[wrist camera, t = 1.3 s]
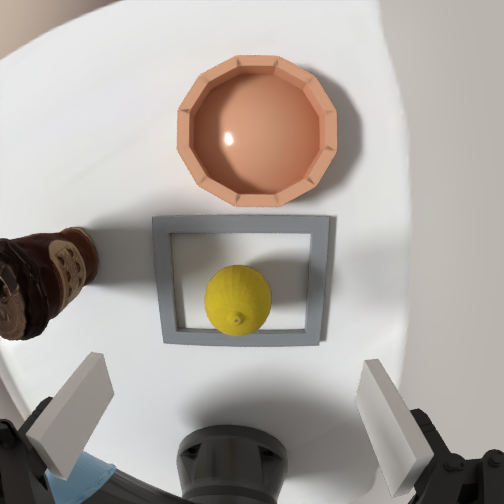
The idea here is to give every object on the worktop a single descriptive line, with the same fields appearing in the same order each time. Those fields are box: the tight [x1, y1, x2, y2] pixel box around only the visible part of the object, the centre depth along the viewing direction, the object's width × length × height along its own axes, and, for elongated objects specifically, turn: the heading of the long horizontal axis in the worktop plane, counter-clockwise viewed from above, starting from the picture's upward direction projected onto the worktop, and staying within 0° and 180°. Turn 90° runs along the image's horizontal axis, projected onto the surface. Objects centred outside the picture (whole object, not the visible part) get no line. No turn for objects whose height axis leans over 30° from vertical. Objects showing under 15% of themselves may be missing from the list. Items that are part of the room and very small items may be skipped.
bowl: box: [177, 55, 337, 207], centre depth 24 cm, size 13×13×3 cm
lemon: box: [205, 265, 272, 336], centre depth 25 cm, size 6×6×8 cm
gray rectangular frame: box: [152, 215, 329, 347], centre depth 29 cm, size 13×16×1 cm
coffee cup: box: [0, 227, 98, 341], centre depth 22 cm, size 9×8×13 cm
